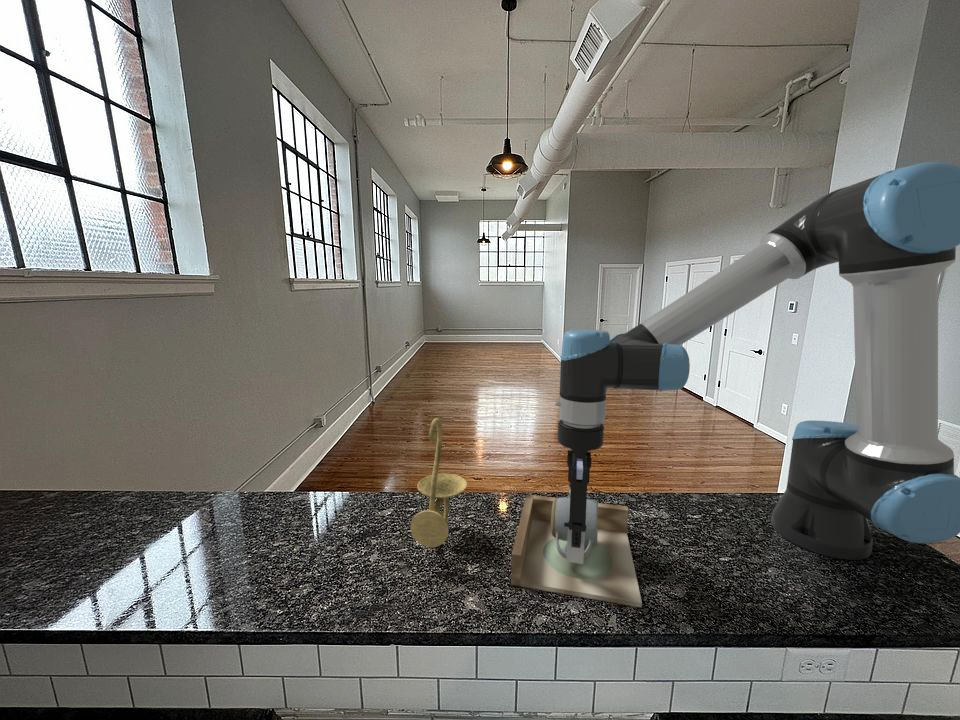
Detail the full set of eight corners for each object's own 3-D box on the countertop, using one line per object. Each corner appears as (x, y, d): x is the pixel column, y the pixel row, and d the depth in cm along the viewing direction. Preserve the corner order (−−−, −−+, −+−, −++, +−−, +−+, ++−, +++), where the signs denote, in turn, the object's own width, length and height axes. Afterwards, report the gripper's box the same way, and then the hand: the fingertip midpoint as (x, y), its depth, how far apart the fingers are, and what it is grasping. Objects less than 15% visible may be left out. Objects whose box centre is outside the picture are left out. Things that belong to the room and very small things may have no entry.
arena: (625, 532, 79) (627, 506, 78) (641, 607, 60) (644, 575, 59) (525, 518, 84) (526, 494, 83) (510, 584, 64) (511, 554, 64)
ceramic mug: (553, 523, 76) (554, 486, 75) (597, 530, 74) (599, 492, 73) (547, 559, 66) (548, 518, 65) (597, 568, 64) (600, 526, 63)
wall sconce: (456, 569, 68) (455, 430, 64) (403, 563, 69) (399, 426, 65) (470, 523, 82) (471, 406, 78) (426, 519, 83) (424, 404, 79)
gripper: (560, 402, 79) (556, 505, 82) (555, 443, 56) (549, 582, 60) (600, 405, 77) (593, 510, 80) (610, 448, 55) (600, 591, 58)
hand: (574, 541), depth 70 cm, fingers closed on ceramic mug, 10 cm apart
